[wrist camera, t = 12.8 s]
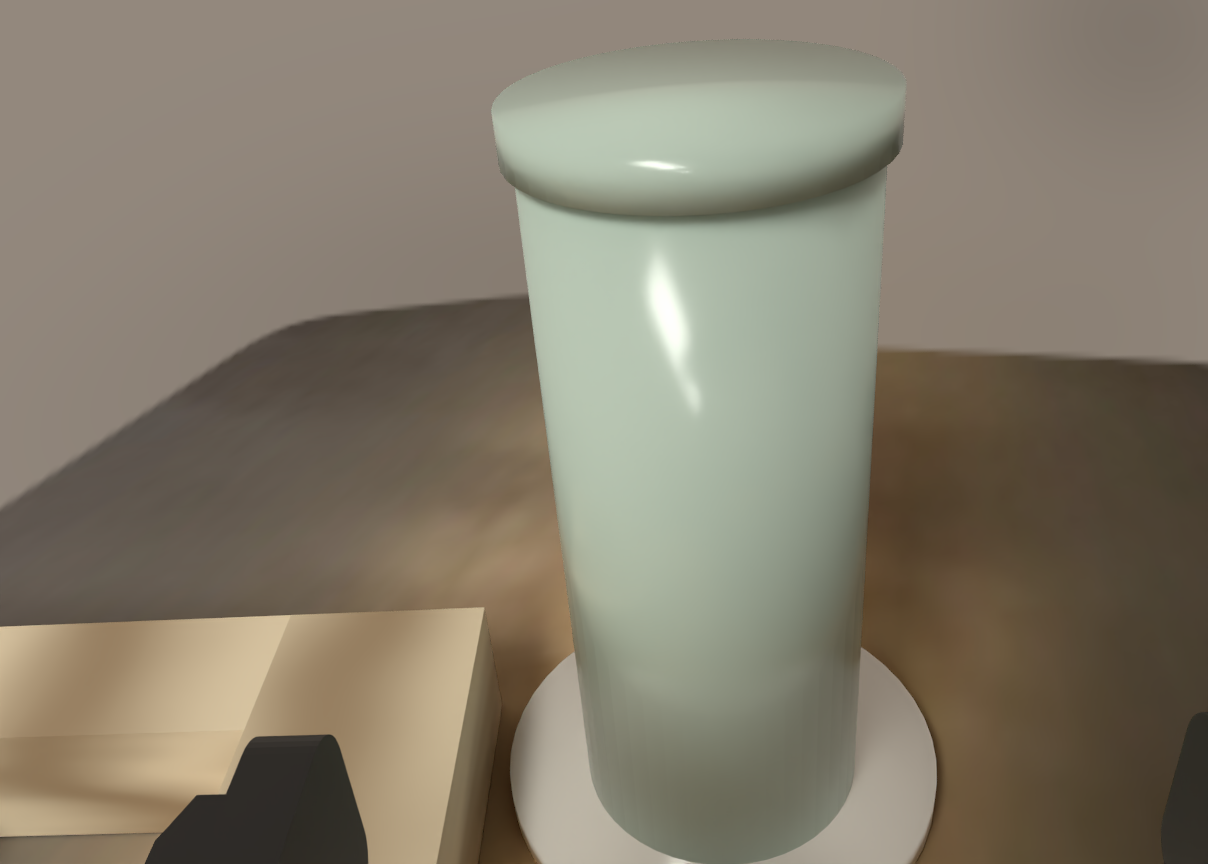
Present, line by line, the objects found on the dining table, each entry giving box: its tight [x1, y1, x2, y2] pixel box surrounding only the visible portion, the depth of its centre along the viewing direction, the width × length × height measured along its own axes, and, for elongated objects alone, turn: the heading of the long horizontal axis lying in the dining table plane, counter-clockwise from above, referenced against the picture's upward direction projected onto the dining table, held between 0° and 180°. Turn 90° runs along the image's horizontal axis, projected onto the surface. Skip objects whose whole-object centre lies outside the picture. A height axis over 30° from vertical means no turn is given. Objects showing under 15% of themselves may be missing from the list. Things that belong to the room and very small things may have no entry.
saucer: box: [510, 647, 937, 864], centre depth 24 cm, size 9×9×1 cm
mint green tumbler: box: [491, 39, 906, 864], centre depth 21 cm, size 6×8×14 cm
